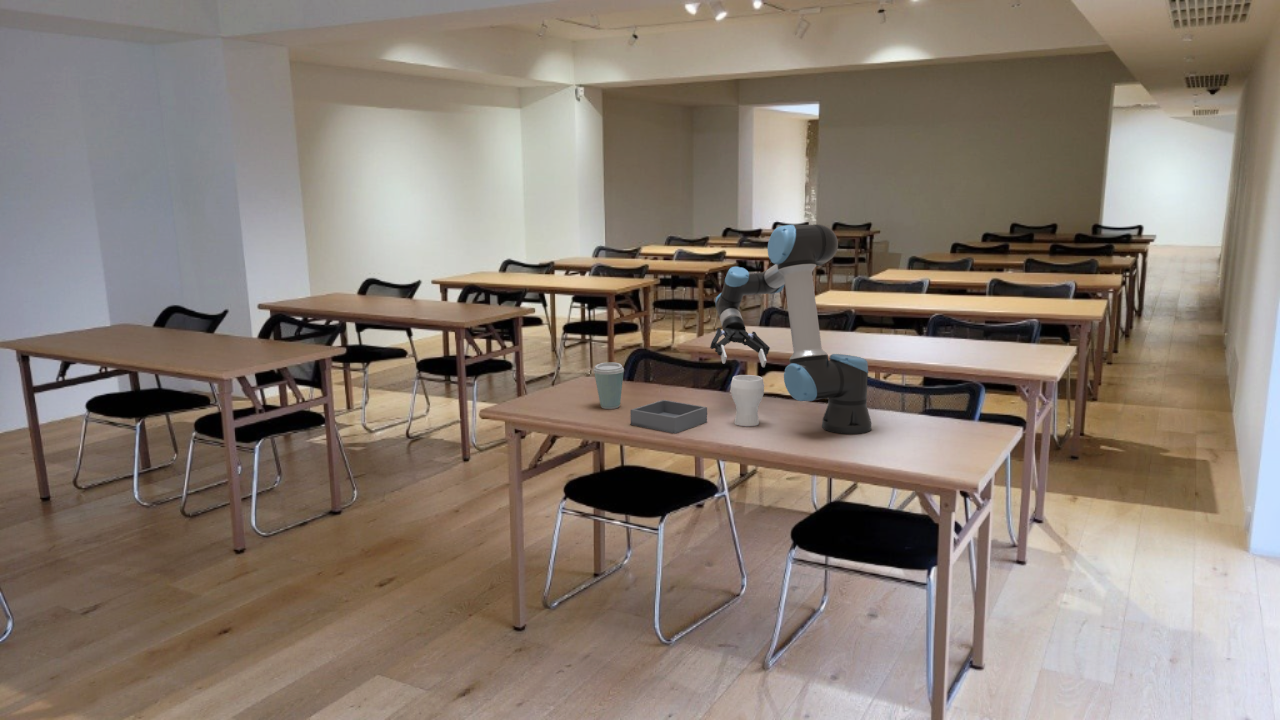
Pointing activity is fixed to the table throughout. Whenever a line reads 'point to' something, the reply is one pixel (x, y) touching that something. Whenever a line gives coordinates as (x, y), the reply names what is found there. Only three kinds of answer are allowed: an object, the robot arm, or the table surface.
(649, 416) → the bin
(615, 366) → the disposable coffee cup
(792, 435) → the table surface
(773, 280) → the robot arm
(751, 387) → the white ceramic vase
